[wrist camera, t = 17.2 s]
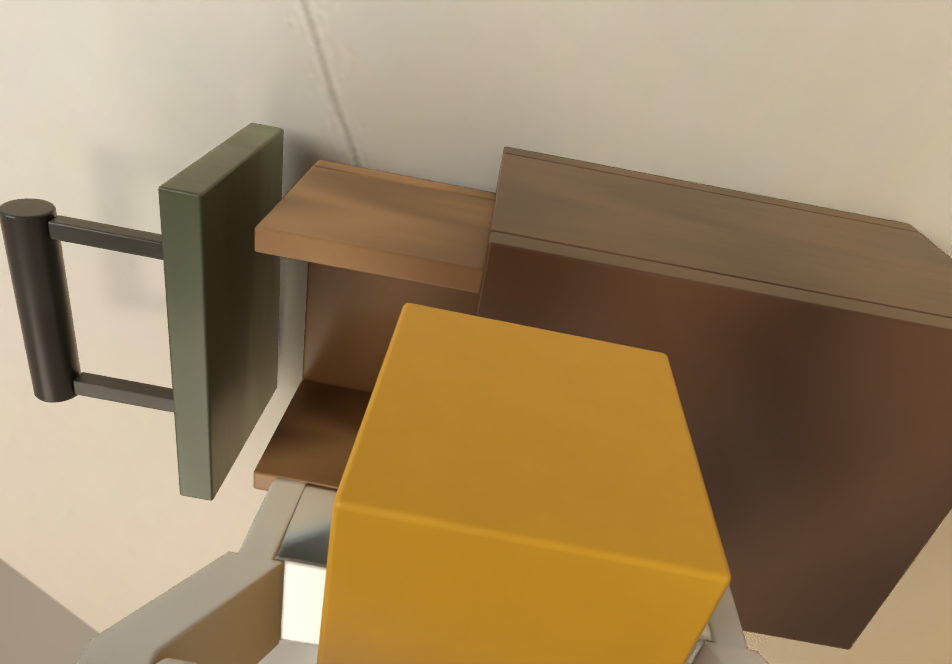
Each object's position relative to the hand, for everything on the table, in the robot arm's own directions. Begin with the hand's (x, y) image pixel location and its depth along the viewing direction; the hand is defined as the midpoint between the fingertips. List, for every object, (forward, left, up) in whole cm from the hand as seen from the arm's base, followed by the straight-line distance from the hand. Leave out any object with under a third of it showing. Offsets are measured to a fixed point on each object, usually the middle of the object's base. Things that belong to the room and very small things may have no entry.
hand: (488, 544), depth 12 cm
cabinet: (-5, -6, -17) cm, 19 cm away
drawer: (-4, +6, -16) cm, 18 cm away
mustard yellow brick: (0, 0, -2) cm, 2 cm away
